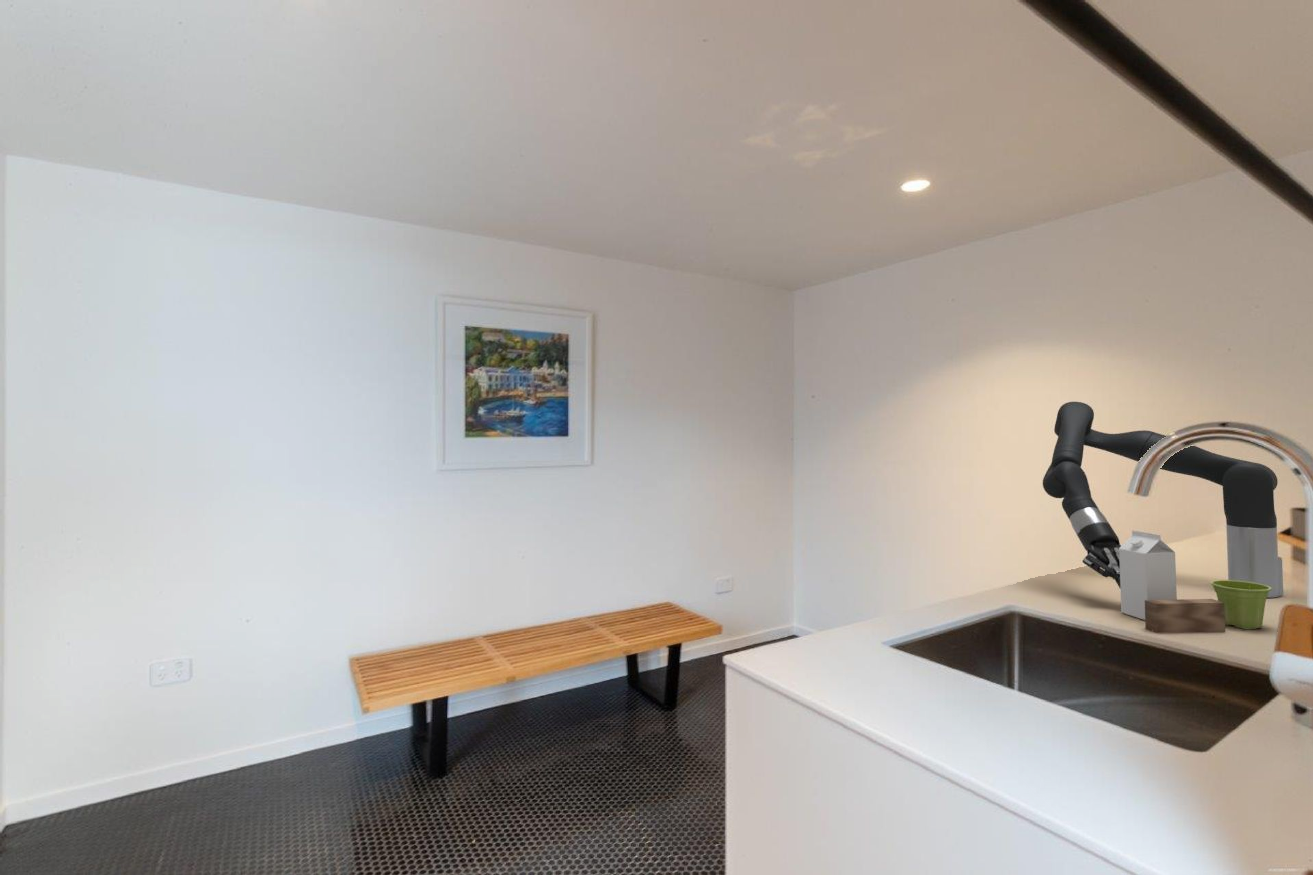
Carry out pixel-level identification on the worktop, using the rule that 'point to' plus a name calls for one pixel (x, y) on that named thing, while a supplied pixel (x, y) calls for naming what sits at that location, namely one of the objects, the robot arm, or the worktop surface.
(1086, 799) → the worktop surface
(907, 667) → the worktop surface
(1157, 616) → the brown block
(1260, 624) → the plant pot
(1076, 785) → the worktop surface
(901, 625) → the worktop surface
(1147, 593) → the milk carton
